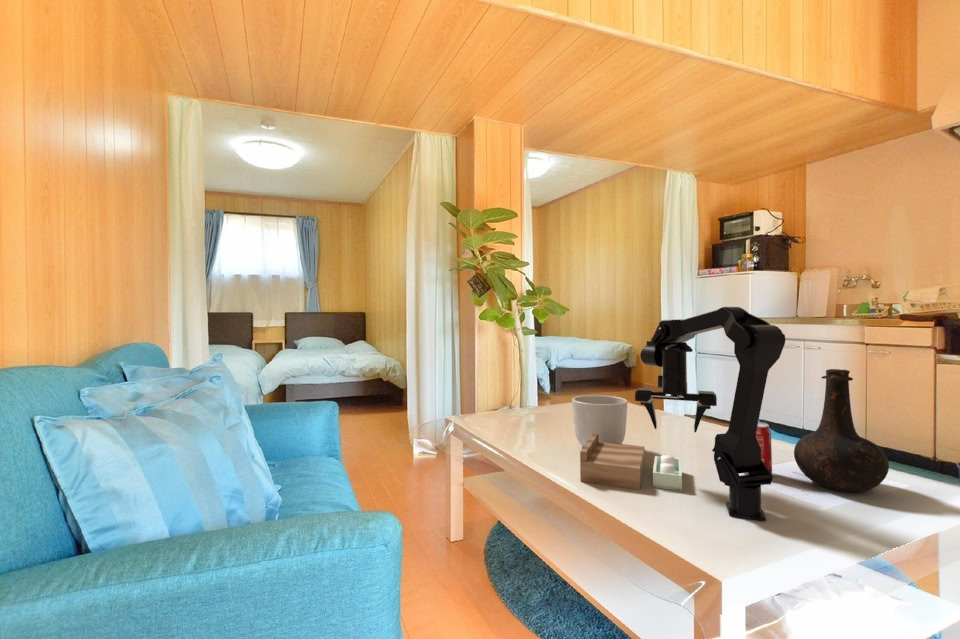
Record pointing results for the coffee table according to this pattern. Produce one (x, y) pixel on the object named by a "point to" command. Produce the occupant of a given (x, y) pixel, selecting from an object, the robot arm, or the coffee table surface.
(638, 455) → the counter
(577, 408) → the planter
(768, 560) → the coffee table surface
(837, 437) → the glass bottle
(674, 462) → the tray
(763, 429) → the soda can
